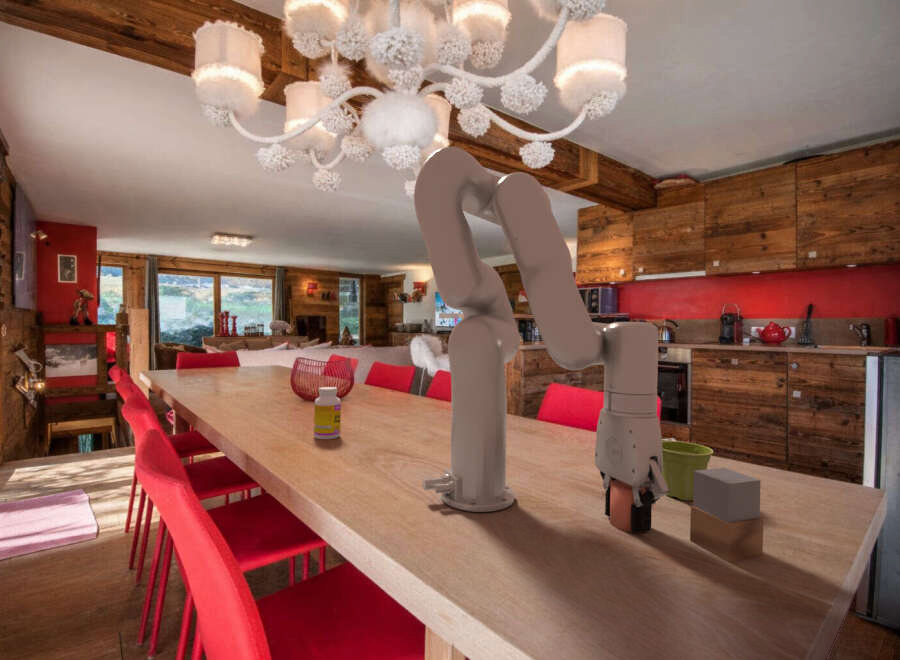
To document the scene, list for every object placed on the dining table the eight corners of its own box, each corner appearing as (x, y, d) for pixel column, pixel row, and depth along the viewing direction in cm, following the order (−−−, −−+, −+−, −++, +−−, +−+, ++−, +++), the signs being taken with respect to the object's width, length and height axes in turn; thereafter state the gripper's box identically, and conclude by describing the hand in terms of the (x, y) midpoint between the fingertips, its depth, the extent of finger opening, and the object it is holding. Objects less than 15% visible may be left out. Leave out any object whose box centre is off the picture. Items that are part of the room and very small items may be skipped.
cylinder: (625, 534, 65) (626, 492, 65) (602, 519, 70) (603, 481, 70) (652, 529, 67) (653, 489, 67) (629, 515, 71) (629, 478, 71)
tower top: (728, 522, 58) (728, 484, 58) (693, 506, 63) (694, 470, 63) (759, 517, 60) (760, 480, 60) (723, 501, 65) (723, 467, 65)
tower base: (728, 562, 58) (729, 524, 58) (689, 541, 63) (690, 506, 63) (762, 556, 60) (763, 518, 59) (722, 535, 65) (723, 501, 65)
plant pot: (645, 485, 86) (646, 439, 85) (695, 486, 85) (696, 440, 85) (667, 504, 76) (668, 453, 76) (723, 506, 76) (724, 455, 76)
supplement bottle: (336, 440, 114) (337, 390, 114) (310, 440, 114) (311, 389, 114) (343, 434, 121) (343, 386, 121) (318, 433, 121) (319, 386, 121)
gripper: (575, 395, 75) (573, 504, 75) (651, 415, 59) (649, 553, 59) (612, 394, 77) (610, 499, 78) (696, 412, 61) (693, 545, 61)
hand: (627, 521), depth 68 cm, fingers closed on cylinder, 5 cm apart
